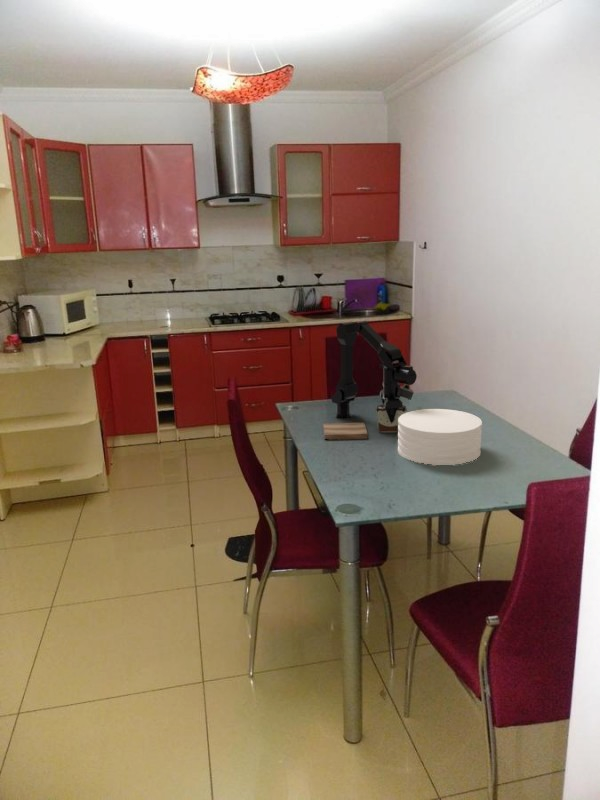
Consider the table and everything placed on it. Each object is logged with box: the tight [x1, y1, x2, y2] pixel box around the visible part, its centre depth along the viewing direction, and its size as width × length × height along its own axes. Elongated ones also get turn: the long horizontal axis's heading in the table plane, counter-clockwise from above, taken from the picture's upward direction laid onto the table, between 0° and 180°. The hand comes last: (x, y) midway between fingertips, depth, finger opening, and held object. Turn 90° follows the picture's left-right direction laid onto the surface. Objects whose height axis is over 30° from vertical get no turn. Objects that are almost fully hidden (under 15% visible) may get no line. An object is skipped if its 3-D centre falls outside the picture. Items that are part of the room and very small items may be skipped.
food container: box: [374, 403, 408, 433], centre depth 229 cm, size 12×6×10 cm, turn 84°
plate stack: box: [397, 408, 483, 466], centre depth 205 cm, size 28×28×12 cm
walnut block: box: [322, 422, 368, 441], centre depth 228 cm, size 14×16×2 cm
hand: (390, 419), depth 230 cm, fingers closed on food container, 6 cm apart
